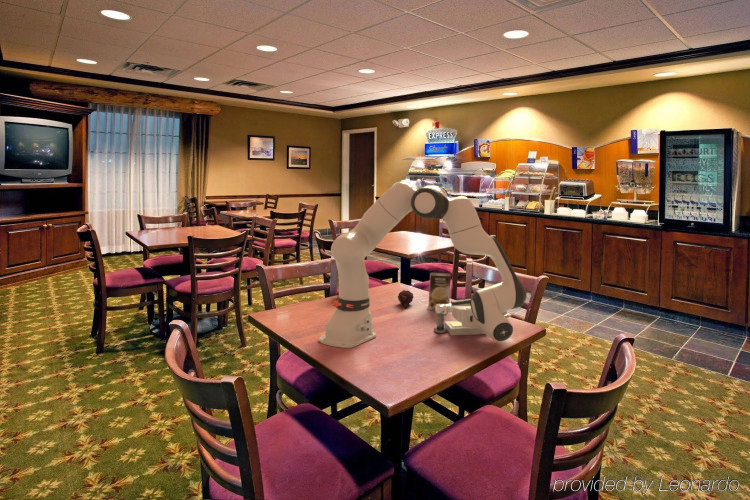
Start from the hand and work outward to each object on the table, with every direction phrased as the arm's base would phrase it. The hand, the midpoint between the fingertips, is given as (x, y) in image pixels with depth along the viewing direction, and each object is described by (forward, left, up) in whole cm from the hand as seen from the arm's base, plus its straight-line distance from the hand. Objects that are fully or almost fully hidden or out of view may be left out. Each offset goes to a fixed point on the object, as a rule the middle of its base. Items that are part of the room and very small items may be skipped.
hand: (472, 306), depth 174 cm
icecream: (+17, +36, -9) cm, 41 cm away
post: (-10, +10, -9) cm, 16 cm away
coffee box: (+18, +20, -9) cm, 29 cm away
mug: (+17, +68, -9) cm, 71 cm away
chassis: (-4, +2, -9) cm, 10 cm away
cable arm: (-3, +4, -1) cm, 5 cm away
